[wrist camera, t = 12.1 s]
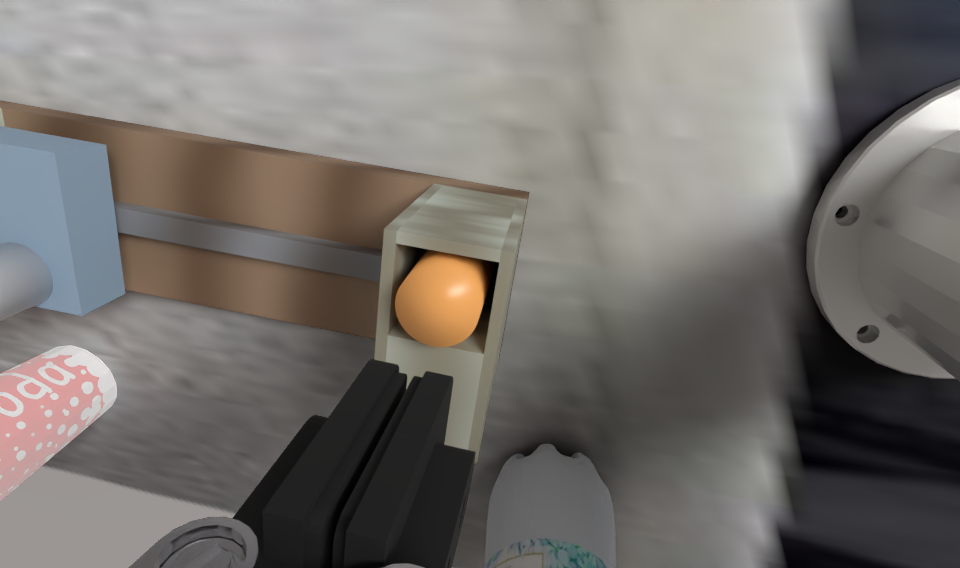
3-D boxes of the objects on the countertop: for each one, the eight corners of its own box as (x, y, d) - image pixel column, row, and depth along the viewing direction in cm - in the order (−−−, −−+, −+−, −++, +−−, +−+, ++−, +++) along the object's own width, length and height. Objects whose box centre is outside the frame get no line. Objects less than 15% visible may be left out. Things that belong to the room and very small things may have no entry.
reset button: (499, 237, 19) (485, 277, 15) (488, 302, 20) (473, 354, 16) (429, 225, 19) (398, 261, 16) (422, 290, 20) (391, 338, 17)
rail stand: (529, 192, 24) (514, 252, 16) (500, 347, 27) (476, 463, 19) (-54, 91, 26) (-323, 100, 18) (-17, 247, 29) (-233, 312, 21)
